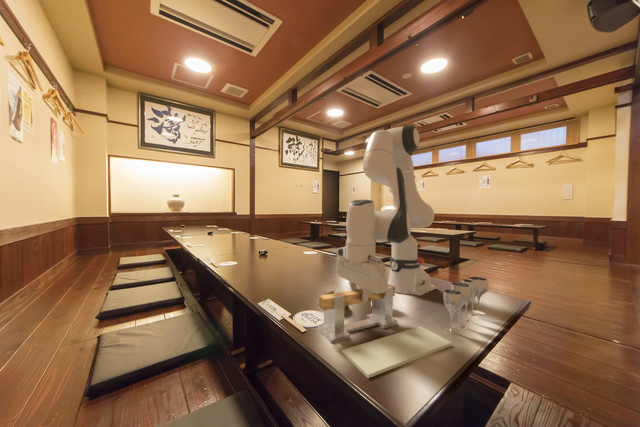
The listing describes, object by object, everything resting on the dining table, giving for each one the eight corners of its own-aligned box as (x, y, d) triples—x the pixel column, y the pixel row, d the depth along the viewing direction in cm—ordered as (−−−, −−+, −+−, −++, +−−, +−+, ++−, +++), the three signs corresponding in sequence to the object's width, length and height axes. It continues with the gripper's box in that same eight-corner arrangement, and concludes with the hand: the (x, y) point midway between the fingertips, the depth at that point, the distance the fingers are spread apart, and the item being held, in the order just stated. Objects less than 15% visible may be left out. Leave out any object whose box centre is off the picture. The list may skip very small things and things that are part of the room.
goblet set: (458, 338, 68) (459, 291, 67) (437, 330, 72) (438, 286, 72) (490, 312, 85) (491, 275, 85) (472, 307, 90) (473, 272, 90)
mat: (420, 328, 73) (420, 326, 73) (451, 345, 64) (451, 342, 64) (341, 353, 60) (341, 350, 60) (367, 378, 51) (367, 374, 51)
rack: (380, 314, 82) (381, 280, 82) (397, 324, 75) (398, 287, 75) (317, 329, 71) (318, 290, 71) (331, 343, 64) (332, 300, 64)
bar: (388, 293, 80) (388, 284, 80) (394, 295, 78) (395, 286, 78) (319, 306, 68) (319, 295, 68) (324, 310, 66) (324, 299, 66)
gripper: (393, 258, 65) (392, 309, 65) (349, 247, 83) (349, 287, 83) (375, 260, 62) (374, 314, 62) (334, 248, 80) (333, 290, 81)
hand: (359, 298), depth 73 cm, fingers closed on bar, 3 cm apart
